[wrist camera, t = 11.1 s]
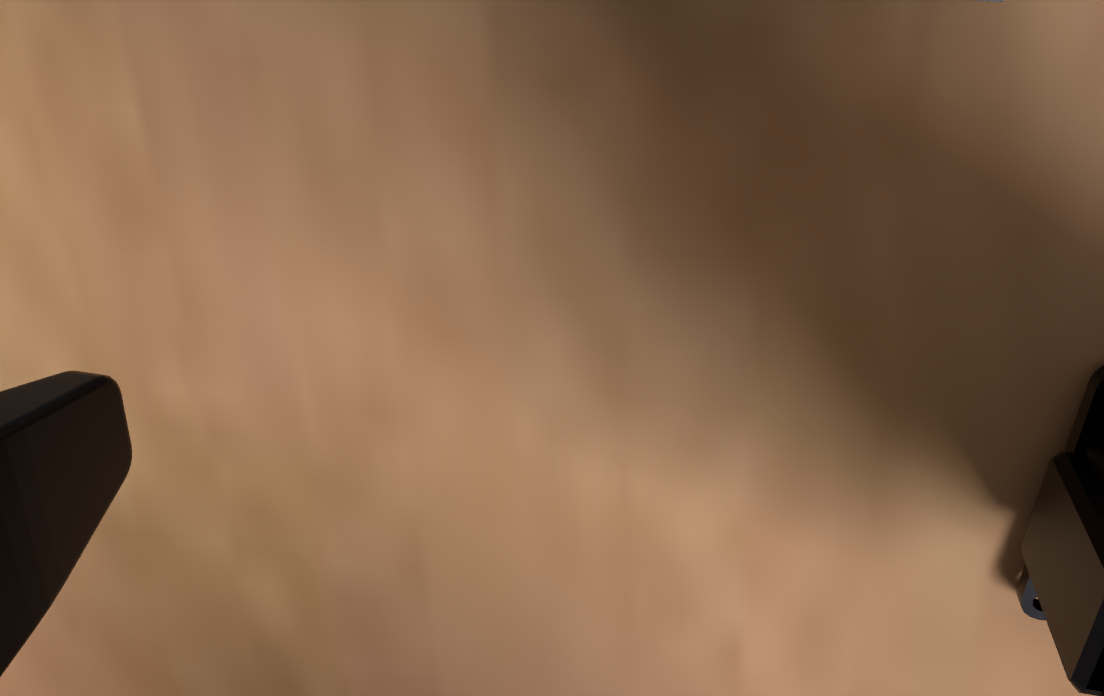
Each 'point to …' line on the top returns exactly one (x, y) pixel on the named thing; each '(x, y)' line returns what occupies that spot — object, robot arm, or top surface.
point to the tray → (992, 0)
